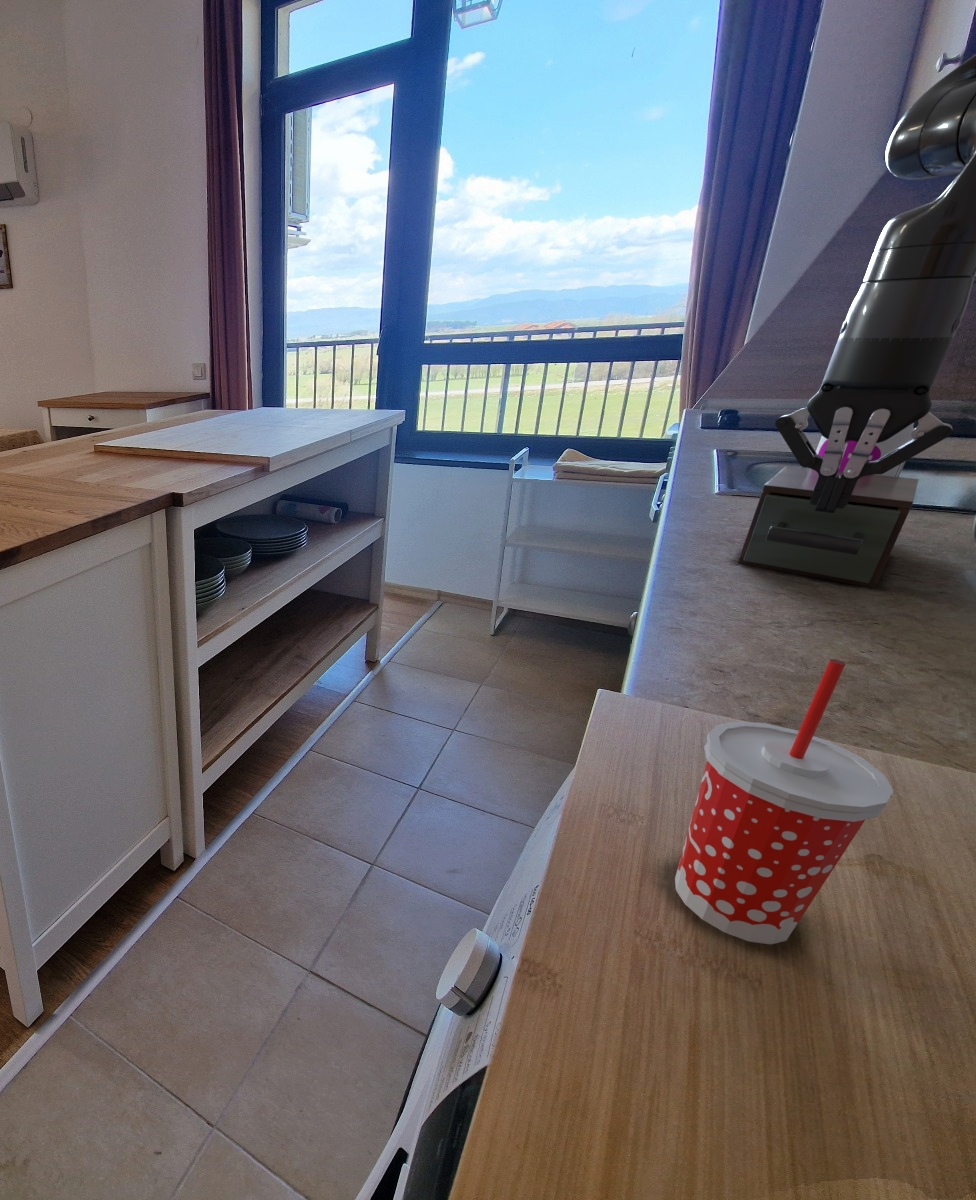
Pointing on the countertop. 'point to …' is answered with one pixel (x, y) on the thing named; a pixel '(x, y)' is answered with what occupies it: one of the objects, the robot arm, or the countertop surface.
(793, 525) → the drawer
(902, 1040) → the countertop surface
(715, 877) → the beverage cup
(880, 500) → the cabinet
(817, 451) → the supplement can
